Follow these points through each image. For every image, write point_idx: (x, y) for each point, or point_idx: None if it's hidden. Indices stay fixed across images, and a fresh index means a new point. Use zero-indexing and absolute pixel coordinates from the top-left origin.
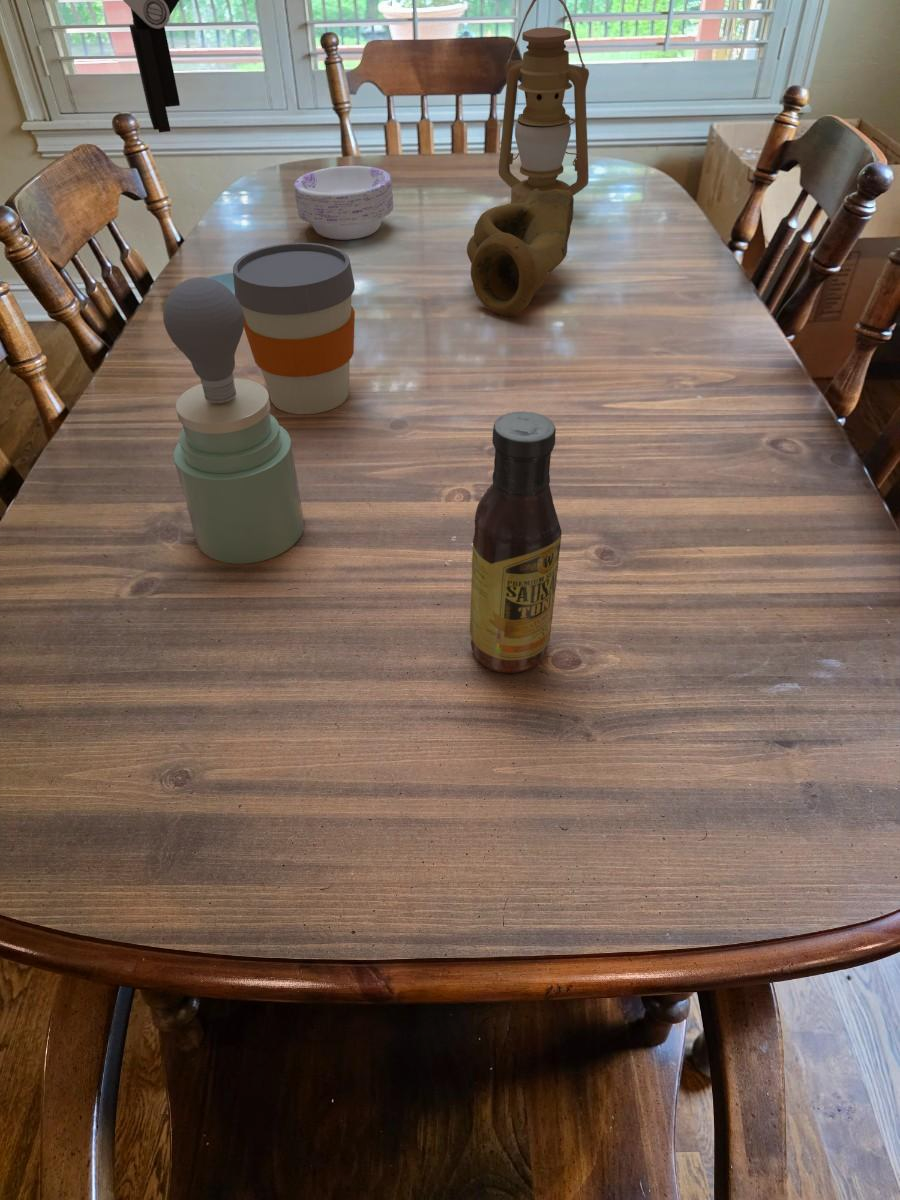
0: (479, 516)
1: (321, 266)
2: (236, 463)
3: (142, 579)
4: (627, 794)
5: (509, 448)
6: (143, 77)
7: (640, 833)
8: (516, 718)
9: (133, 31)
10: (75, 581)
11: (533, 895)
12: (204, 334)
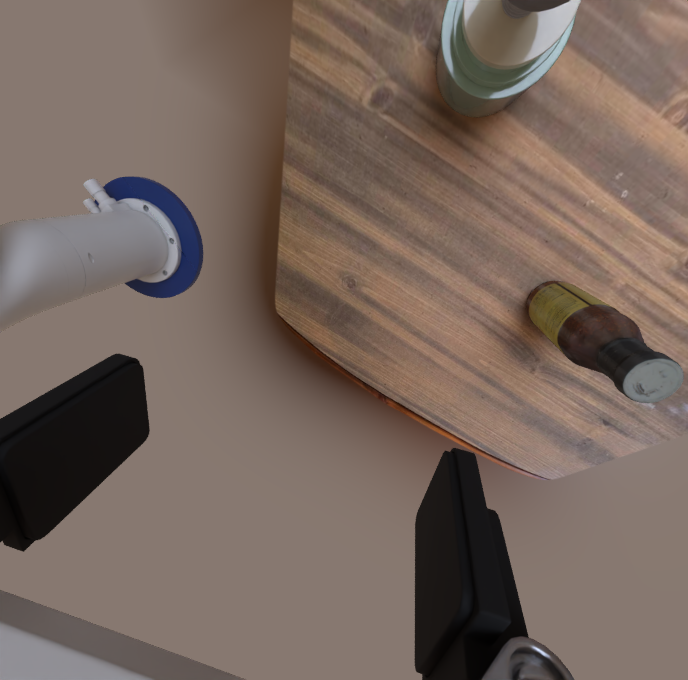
0: (577, 334)
1: None
2: (487, 84)
3: (382, 87)
4: (519, 400)
5: (617, 386)
6: (415, 595)
7: (507, 415)
8: (512, 343)
9: (430, 659)
10: (336, 58)
11: (450, 409)
12: (527, 4)
